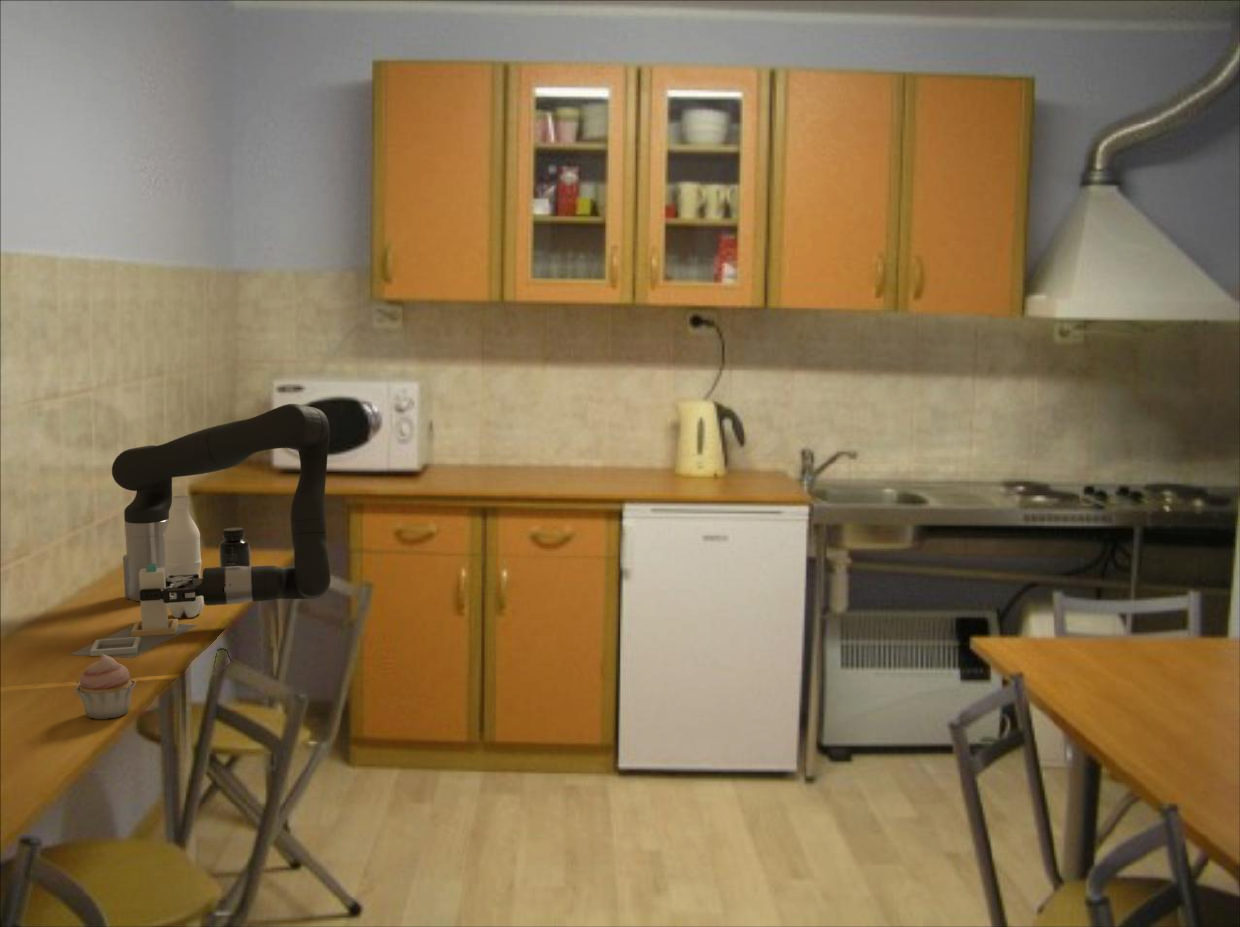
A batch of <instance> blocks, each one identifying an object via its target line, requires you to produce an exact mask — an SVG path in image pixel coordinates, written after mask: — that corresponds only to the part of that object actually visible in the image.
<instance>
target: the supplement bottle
mask: <svg viewBox="0 0 1240 927" xmlns="http://www.w3.org/2000/svg"><path fill="white" fill-rule="evenodd" d="M245 536H246V534H245V528H243V527H228V528H223V529H222V538H223V540H222V541H221V542H220V543H219V545H218V548H219V552H218V553H219V567H230V566H247V567H252V566H251V565H252V564H251V546H250V542H249V541H248V540H247V539H245Z"/></svg>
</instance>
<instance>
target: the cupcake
mask: <svg viewBox="0 0 1240 927" xmlns="http://www.w3.org/2000/svg"><path fill="white" fill-rule="evenodd" d="M99 657H100V658H99V661H96V662H94V663H92V664H90V665H88V667H86V668H85V670H84V672H83V673H82V674H81V675H80V676H79V679H78V681H79V684H77V685H76V686H77V688H75V689H74V691H75V693H76V694H77V695H78V696H79V698H80V700H81V702H82V704H83V707H84V708H83V709H84V711H85V714H86V715H87V717H88V718H89V717H90V718H89V719H92V718H94V719H93V720H109V719H108V718H111V719H117V718H119V717H122V716H124V715H127V714H128V713H129V710H130V705H131V699H132V694H133V691H134V688H135V686H136V684H137V680H132V678H131V677H130V672H129V671H130V670H128V668H127V667H126V666H125V665H123V664H122V663H119V662H117V661H116V660H115V659H114V657H109V656H107V655H104V654H101V656H99Z"/></svg>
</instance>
